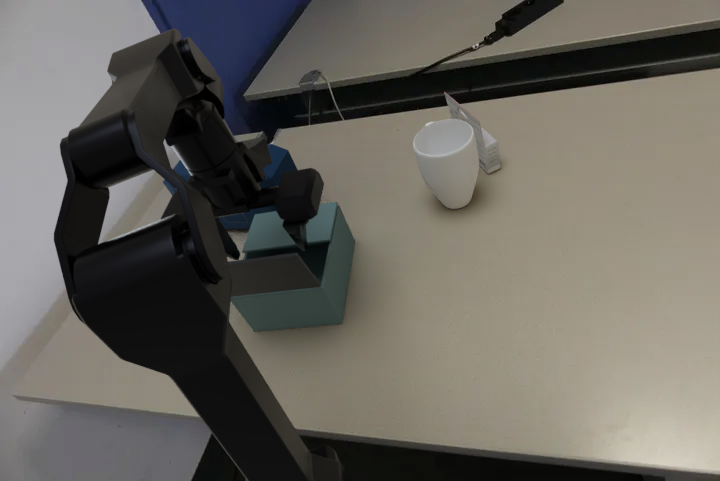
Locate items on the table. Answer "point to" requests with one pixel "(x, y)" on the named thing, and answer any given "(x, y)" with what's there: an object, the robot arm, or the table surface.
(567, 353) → the table surface
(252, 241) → the teal storage bin
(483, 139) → the ink cartridge box
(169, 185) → the radio
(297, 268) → the hatch
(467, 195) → the mug
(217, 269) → the robot arm
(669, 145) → the table surface
